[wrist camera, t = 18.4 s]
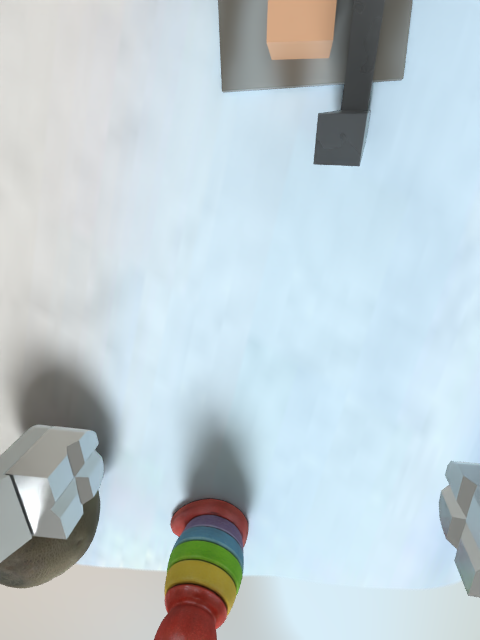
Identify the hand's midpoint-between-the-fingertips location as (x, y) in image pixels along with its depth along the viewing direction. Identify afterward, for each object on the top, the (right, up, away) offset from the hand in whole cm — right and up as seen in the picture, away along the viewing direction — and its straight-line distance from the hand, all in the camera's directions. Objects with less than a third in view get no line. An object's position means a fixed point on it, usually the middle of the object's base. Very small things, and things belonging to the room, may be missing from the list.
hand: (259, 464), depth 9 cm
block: (+4, +26, +19) cm, 33 cm away
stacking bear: (-4, -25, +44) cm, 51 cm away
